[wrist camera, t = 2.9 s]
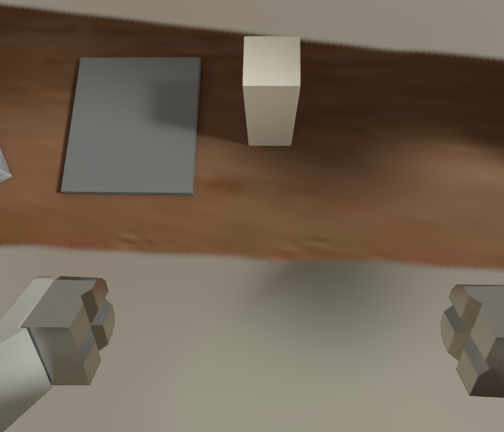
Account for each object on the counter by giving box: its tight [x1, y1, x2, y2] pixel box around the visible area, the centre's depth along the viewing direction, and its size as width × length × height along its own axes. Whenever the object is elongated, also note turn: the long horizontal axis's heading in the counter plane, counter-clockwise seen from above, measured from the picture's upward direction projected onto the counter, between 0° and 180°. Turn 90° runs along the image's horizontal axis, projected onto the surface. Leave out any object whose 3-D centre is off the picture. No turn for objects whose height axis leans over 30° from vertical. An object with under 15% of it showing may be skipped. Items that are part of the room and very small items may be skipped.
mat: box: [61, 57, 201, 195], centre depth 37 cm, size 12×14×1 cm
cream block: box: [243, 36, 300, 146], centre depth 32 cm, size 4×4×10 cm
